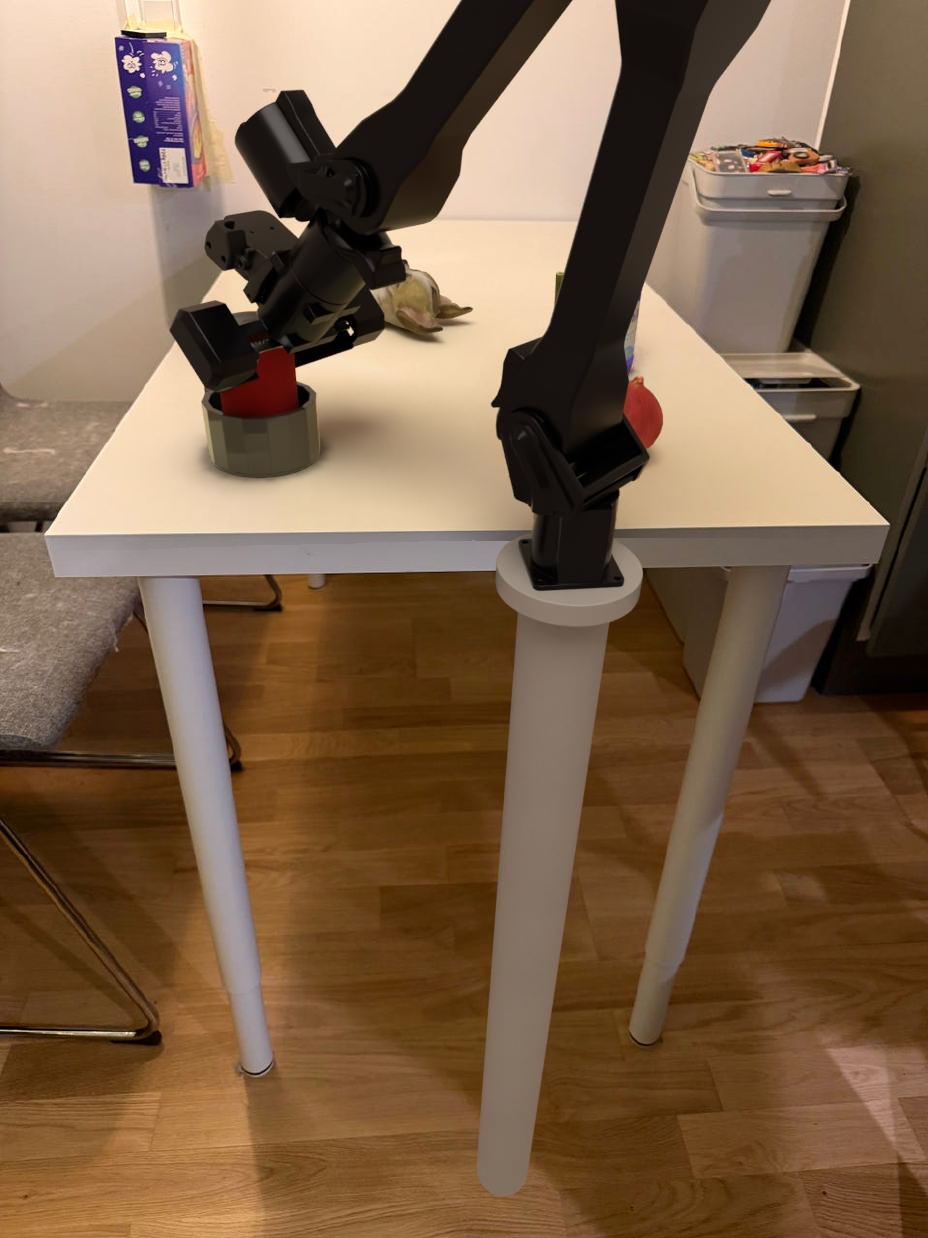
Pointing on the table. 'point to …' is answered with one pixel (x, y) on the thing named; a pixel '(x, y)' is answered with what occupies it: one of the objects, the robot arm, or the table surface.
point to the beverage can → (264, 383)
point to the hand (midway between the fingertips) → (248, 377)
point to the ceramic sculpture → (416, 303)
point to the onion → (643, 411)
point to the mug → (263, 437)
